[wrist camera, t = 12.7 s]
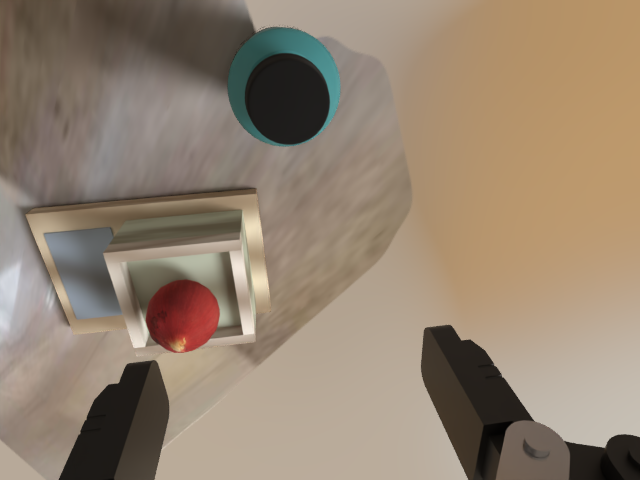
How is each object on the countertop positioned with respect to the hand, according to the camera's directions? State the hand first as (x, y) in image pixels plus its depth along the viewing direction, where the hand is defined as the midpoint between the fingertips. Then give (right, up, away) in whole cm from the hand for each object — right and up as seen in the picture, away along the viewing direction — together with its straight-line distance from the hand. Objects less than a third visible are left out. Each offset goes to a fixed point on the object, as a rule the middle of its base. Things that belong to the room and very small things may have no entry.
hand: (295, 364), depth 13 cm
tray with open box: (-16, +2, +31) cm, 35 cm away
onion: (-11, -1, +26) cm, 28 cm away
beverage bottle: (-3, +19, +24) cm, 31 cm away
